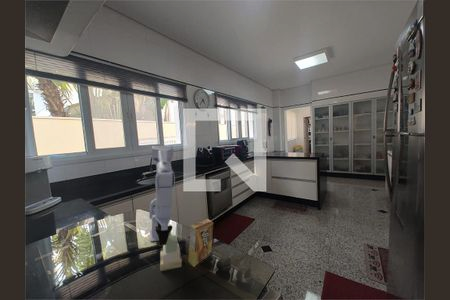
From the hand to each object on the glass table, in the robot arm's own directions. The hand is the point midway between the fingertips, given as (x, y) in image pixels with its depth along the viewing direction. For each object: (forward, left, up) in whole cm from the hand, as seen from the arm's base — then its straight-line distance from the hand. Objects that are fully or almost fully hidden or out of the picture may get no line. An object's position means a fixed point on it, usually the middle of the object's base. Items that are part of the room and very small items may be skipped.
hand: (162, 238), depth 65 cm
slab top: (0, +3, -8) cm, 9 cm away
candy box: (+2, +15, -11) cm, 18 cm away
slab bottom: (0, +3, -11) cm, 11 cm away
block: (0, +3, -5) cm, 6 cm away
